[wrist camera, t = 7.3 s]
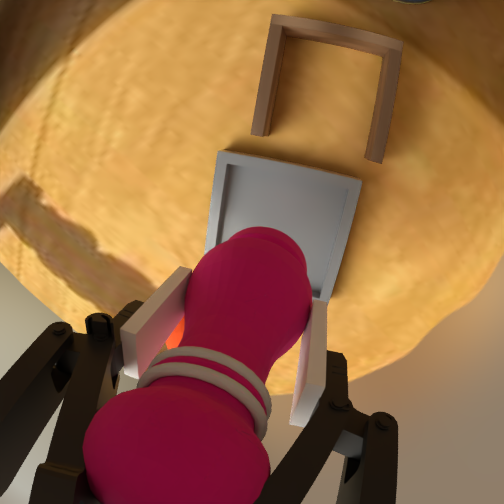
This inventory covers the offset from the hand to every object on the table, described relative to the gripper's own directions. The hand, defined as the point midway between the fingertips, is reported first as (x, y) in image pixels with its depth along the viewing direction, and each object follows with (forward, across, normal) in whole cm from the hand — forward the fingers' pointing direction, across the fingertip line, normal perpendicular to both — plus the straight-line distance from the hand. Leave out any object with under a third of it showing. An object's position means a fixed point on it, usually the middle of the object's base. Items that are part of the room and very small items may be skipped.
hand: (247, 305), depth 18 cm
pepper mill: (+5, 0, 0) cm, 5 cm away
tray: (+15, 0, 0) cm, 15 cm away
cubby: (+15, +2, +14) cm, 20 cm away
